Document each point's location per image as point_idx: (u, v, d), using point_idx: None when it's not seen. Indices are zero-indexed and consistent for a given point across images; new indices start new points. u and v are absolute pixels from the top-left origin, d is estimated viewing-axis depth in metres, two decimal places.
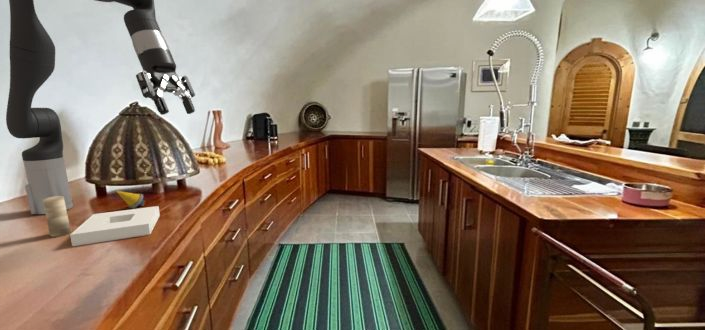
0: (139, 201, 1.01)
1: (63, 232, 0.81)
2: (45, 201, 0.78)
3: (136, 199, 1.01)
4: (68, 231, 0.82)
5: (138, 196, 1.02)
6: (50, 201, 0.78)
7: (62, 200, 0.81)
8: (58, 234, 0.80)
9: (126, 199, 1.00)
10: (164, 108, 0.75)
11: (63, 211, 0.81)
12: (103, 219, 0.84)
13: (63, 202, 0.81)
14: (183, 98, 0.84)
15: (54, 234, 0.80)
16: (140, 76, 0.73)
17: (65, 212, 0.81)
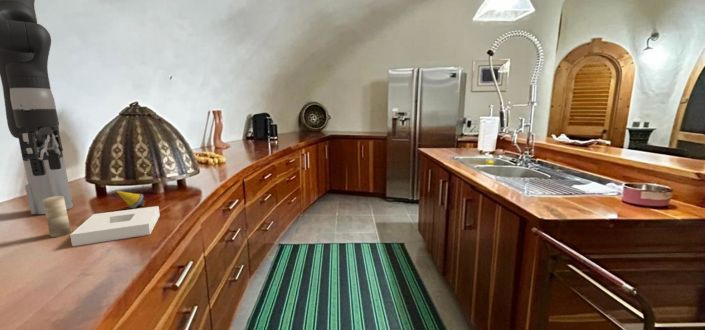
0: (139, 201, 1.01)
1: (63, 232, 0.81)
2: (45, 201, 0.78)
3: (136, 199, 1.01)
4: (68, 231, 0.82)
5: (138, 196, 1.02)
6: (50, 201, 0.78)
7: (62, 200, 0.81)
8: (58, 234, 0.80)
9: (126, 199, 1.00)
10: (42, 171, 0.75)
11: (63, 211, 0.81)
12: (103, 219, 0.84)
13: (63, 202, 0.81)
14: (50, 153, 0.81)
15: (54, 234, 0.80)
16: (26, 138, 0.71)
17: (65, 212, 0.81)
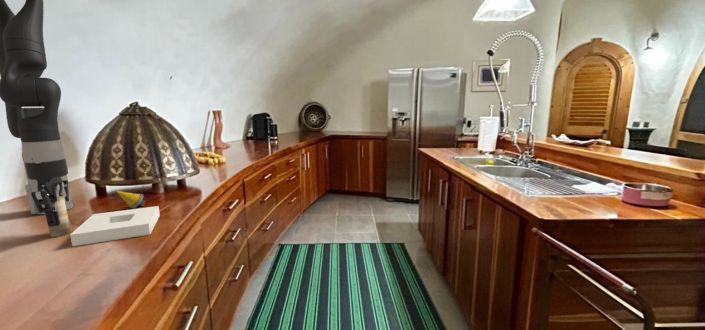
0: (139, 201, 1.01)
1: (63, 232, 0.81)
2: None
3: (136, 199, 1.01)
4: (68, 231, 0.82)
5: (138, 196, 1.02)
6: None
7: (62, 200, 0.81)
8: (58, 234, 0.80)
9: (126, 199, 1.00)
10: (57, 222, 0.79)
11: (63, 211, 0.81)
12: (103, 219, 0.84)
13: (63, 202, 0.81)
14: None
15: (54, 234, 0.80)
16: (39, 196, 0.74)
17: (65, 212, 0.81)
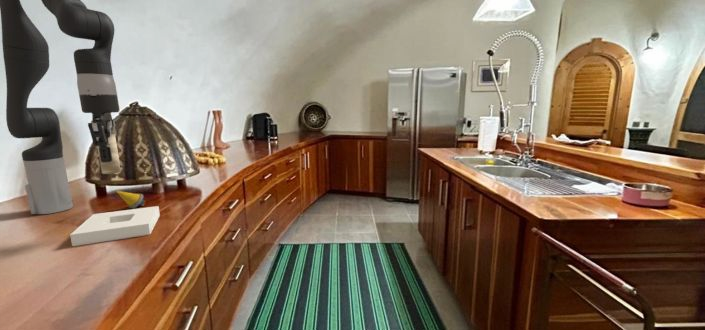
0: (139, 201, 1.01)
1: (115, 169, 0.81)
2: None
3: (136, 199, 1.01)
4: (119, 169, 0.82)
5: (138, 196, 1.02)
6: None
7: (114, 137, 0.80)
8: (110, 171, 0.80)
9: (126, 199, 1.00)
10: (109, 158, 0.79)
11: (115, 148, 0.80)
12: (103, 219, 0.84)
13: (115, 139, 0.81)
14: None
15: (106, 171, 0.80)
16: (95, 128, 0.74)
17: (116, 150, 0.81)
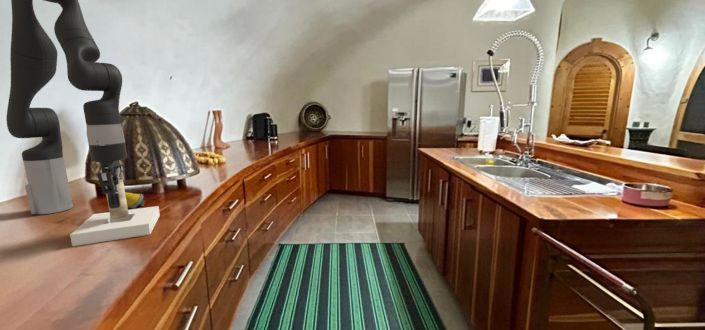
0: (139, 201, 1.01)
1: (123, 214, 0.83)
2: None
3: (136, 199, 1.01)
4: (127, 213, 0.84)
5: (138, 196, 1.02)
6: None
7: (122, 183, 0.83)
8: (118, 216, 0.82)
9: (126, 199, 1.00)
10: (118, 203, 0.81)
11: (123, 193, 0.83)
12: (103, 219, 0.84)
13: (123, 185, 0.83)
14: None
15: (115, 216, 0.82)
16: (104, 178, 0.76)
17: (124, 194, 0.83)
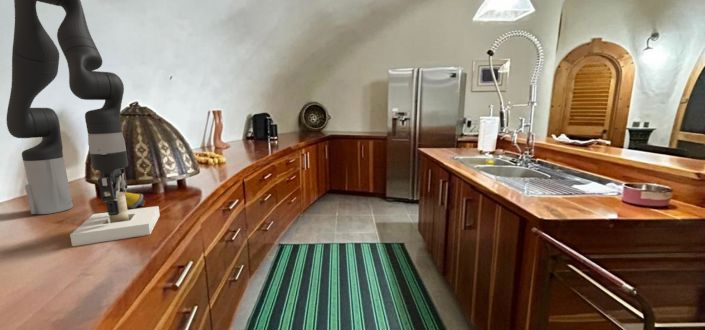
0: (139, 201, 1.01)
1: None
2: None
3: (136, 199, 1.01)
4: None
5: (138, 196, 1.02)
6: None
7: (124, 196, 0.83)
8: None
9: (126, 199, 1.00)
10: (117, 211, 0.80)
11: (124, 206, 0.83)
12: (103, 219, 0.84)
13: (124, 198, 0.84)
14: None
15: None
16: (105, 182, 0.76)
17: (126, 208, 0.84)
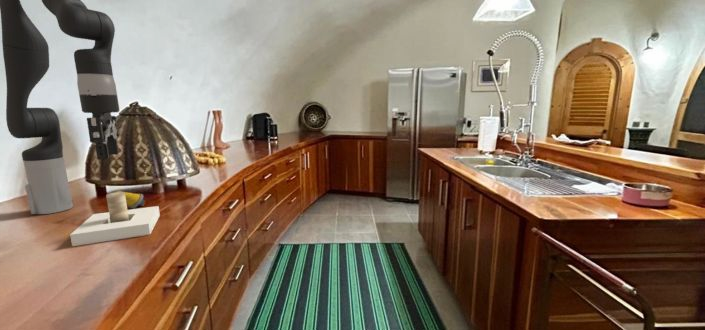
0: (139, 201, 1.01)
1: None
2: (109, 197, 0.81)
3: (136, 199, 1.01)
4: None
5: (138, 196, 1.02)
6: (114, 197, 0.81)
7: (124, 196, 0.83)
8: None
9: (126, 199, 1.00)
10: (106, 155, 0.77)
11: (124, 206, 0.83)
12: (103, 219, 0.84)
13: (124, 198, 0.84)
14: (108, 138, 0.84)
15: None
16: (94, 122, 0.73)
17: (126, 208, 0.84)
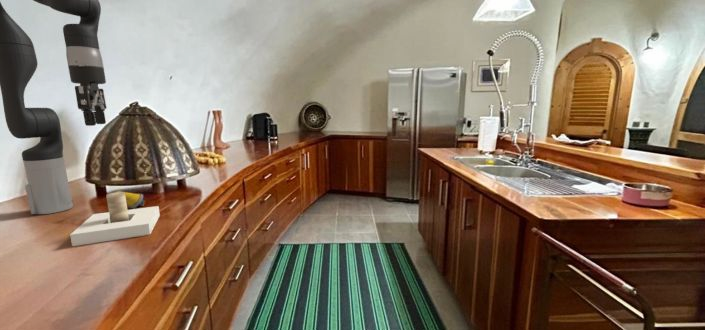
0: (139, 201, 1.01)
1: None
2: (109, 197, 0.81)
3: (136, 199, 1.01)
4: None
5: (138, 196, 1.02)
6: (114, 197, 0.81)
7: (124, 196, 0.83)
8: None
9: (126, 199, 1.00)
10: (93, 121, 0.84)
11: (124, 206, 0.83)
12: (103, 219, 0.84)
13: (124, 198, 0.84)
14: (96, 109, 0.91)
15: None
16: (81, 90, 0.80)
17: (126, 208, 0.84)
